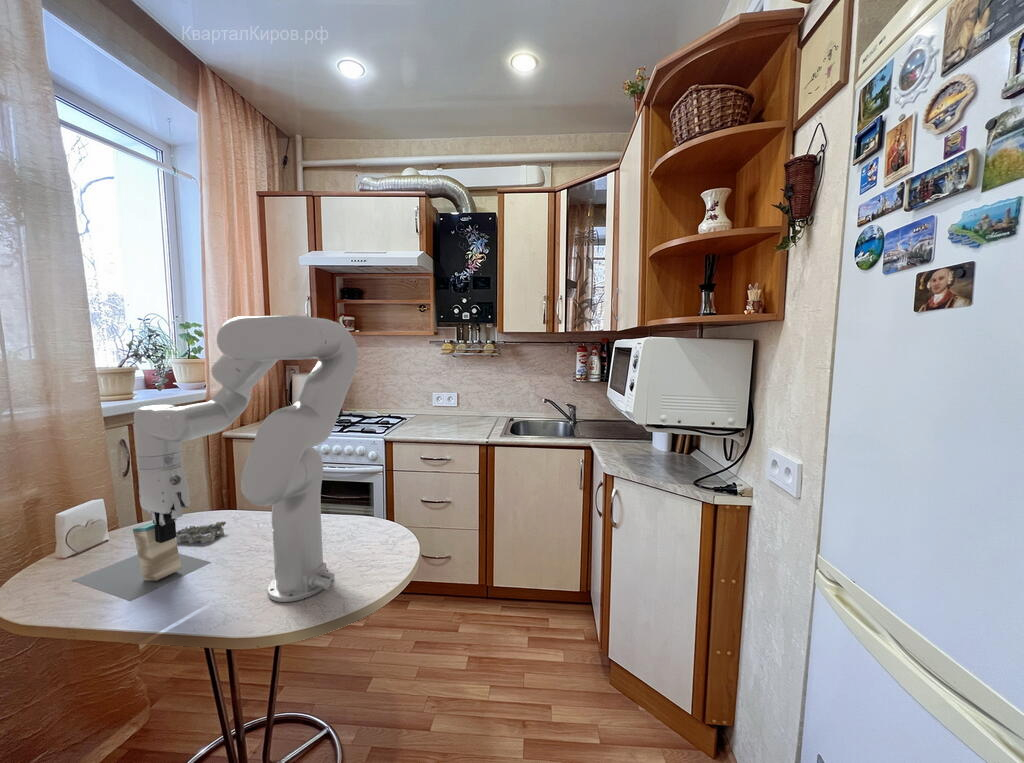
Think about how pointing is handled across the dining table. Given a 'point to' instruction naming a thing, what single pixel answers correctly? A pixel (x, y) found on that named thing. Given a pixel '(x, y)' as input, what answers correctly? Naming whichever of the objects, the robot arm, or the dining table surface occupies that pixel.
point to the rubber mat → (134, 577)
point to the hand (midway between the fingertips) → (166, 539)
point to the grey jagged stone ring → (194, 533)
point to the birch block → (155, 554)
